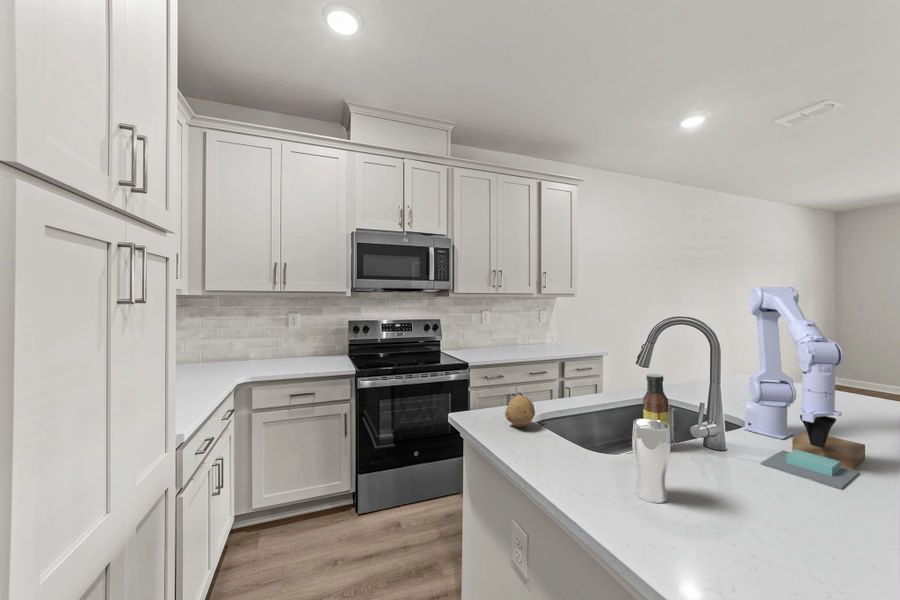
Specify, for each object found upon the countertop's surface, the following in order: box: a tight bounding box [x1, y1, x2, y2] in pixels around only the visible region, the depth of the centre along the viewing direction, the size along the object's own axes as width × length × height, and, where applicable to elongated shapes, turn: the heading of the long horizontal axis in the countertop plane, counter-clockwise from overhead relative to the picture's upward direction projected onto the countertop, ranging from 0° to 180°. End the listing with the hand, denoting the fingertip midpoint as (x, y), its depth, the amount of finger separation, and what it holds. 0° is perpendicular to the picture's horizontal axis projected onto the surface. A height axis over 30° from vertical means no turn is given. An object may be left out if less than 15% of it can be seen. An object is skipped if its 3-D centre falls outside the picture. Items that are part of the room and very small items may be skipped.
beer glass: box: [631, 418, 671, 504], centre depth 77 cm, size 7×7×15 cm
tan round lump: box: [504, 395, 536, 429], centre depth 116 cm, size 9×9×10 cm
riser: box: [791, 430, 866, 470], centre depth 95 cm, size 11×10×4 cm
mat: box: [760, 450, 861, 490], centre depth 89 cm, size 14×14×1 cm
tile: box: [786, 449, 840, 476], centre depth 90 cm, size 8×6×2 cm
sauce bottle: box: [642, 373, 671, 433], centre depth 101 cm, size 6×6×20 cm
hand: (817, 445), depth 91 cm, fingers closed
